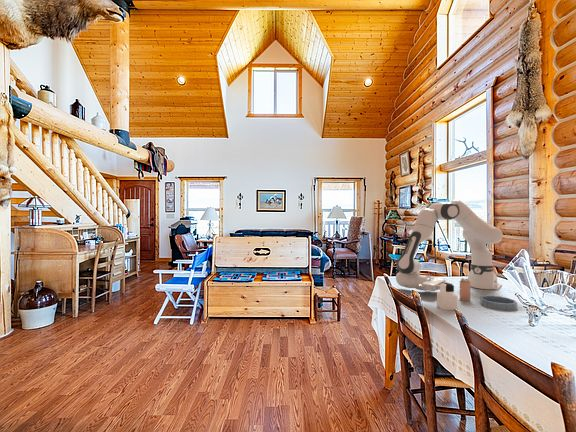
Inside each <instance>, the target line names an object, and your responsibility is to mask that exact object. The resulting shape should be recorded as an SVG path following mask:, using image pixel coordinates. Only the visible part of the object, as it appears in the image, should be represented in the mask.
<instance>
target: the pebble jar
mask: <svg viewBox="0 0 576 432" xmlns="http://www.w3.org/2000/svg"><path fill="white" fill-rule="evenodd" d="M459 301H463V302H471V286H470V282H469V279H468V278H463V277H462V278H461V279H460V280H459Z"/></svg>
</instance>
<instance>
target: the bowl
mask: <svg viewBox="0 0 576 432" xmlns="http://www.w3.org/2000/svg"><path fill="white" fill-rule="evenodd" d="M479 301H480V302H479V303H480V305H481V306H484V307H485V308H488V309H493V310H498V311H499V310H500V311H515V310H517V309H518V302H517V301H516V300H515V299H512V298H508V297H503V296H499V295H498V296H497V295H482V296H480V297H479Z"/></svg>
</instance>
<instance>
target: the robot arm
mask: <svg viewBox="0 0 576 432" xmlns="http://www.w3.org/2000/svg"><path fill="white" fill-rule="evenodd" d="M439 220H440V221H451V220H454V221H455V222H456V223H457V224H458V225H459V226H460V227H461V228H462V229H463V230H462V237H463V239H465V241H466V242H467V244H468V246H469V248H470V254H471V263H470V270H469V271H468V274H467V279H469V282H470V288H475V289H481V290H500V289H501V288H502V286H503V285H502V283H499V282H498V276H497V275H496V273H495V272H494V268H495V265H494V264H493V254H492V253H493V252H491V250H489V248H488V247H487V245H493V244H499V243H500V242H502V240H503V237H504V235H503V231H502V230H501V228H498V227H496V226H494V225H491V224H490V223H488V222H487V221H486V220H484V219H482V218H480V217H479V216H478V215H477V214H476V213H475V212H474V211H473V210H472V209H471V208H470V207H469V206H468V205H467V204H466V203H464V202H463V201H462V200H460V199H452V200H451V201H448V202H447V201H446V202H444V201H441V202H440V201H438V202H431V203H429V204H428V205H427V206H426V207H425V208H423V209H421V210H420V211H419V213H418V215H417V217H416V219H415V222H414V226H413V228H412V230H411V233H410V235H409V238H408V240H407V243H406V245H405V247H404V249H403V252H402V254H401V255H400V256H399V257H398V259H397V261H396V265H395V266H396V268H397V270H398V272H397V273H396V275H395V281H396V283H397V285H399V286H400V287H404V288H406V289H416V290H418V291H425V292H426V291H429V292H436V291H438V290H439V291H440V284H442V283H449V284H452V285H453V283H451V282H447V281H446V279H444V278H441V277H434V276H432V275H422V274H420V273H421V270H422V265H421V263H420V261H419V260H418V259H415V255H416V253H417V250H418V248H419V245H420V244H421V243H423V242H425V241H427V240H429V239H430V238H431V236H432V234H433V231H434V228H435V226H436V225H435V224H436V222H437V221H439Z"/></svg>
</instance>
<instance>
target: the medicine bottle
mask: <svg viewBox="0 0 576 432" xmlns="http://www.w3.org/2000/svg"><path fill="white" fill-rule="evenodd" d="M449 283H450V282H448V283H442V284H440V290H439V291H437V292H436V306H437V307H438V308H440V310H442V311H446V310H447V311H455V310H454V309H458V305H459V304H458V295H457V294H455V286H454V284H453V283H452V284H449Z"/></svg>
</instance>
